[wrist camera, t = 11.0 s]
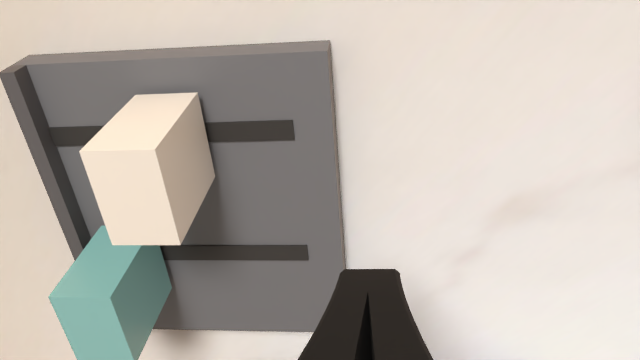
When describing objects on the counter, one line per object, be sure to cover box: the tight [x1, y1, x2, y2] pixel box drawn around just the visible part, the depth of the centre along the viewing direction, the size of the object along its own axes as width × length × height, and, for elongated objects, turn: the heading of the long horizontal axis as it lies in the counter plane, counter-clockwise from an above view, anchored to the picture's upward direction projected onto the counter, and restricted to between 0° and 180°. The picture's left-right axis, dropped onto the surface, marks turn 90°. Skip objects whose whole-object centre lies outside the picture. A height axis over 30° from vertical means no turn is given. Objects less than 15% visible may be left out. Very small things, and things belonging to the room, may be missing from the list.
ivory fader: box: [79, 92, 215, 245], centre depth 19 cm, size 4×2×4 cm, turn 5°
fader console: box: [0, 41, 346, 332], centre depth 23 cm, size 14×12×2 cm
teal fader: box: [49, 226, 172, 360], centre depth 22 cm, size 4×2×4 cm, turn 5°
